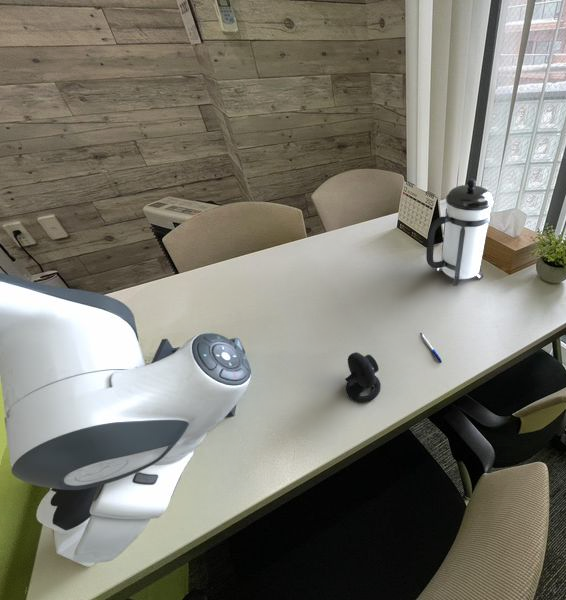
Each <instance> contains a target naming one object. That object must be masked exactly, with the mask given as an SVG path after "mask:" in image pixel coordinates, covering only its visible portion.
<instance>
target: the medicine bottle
mask: <svg viewBox="0 0 566 600" xmlns="http://www.w3.org/2000/svg"><path fill="white" fill-rule="evenodd" d="M97 489H98V486H96V487H92V488H87V489H82V490H64V489H54V488H50V489H49V491H48V492H47V493H46V494H45V495H44V496H43V498H42V499H41V501H40V502H39V505H38V506H37V510H36V514H35V516H36V520H37V522H39V523H40V524H42V525H44V526H45V527H48V528H49V529H51V530H53V536H54V537H53V538H54V544H55V551H56V554H57V555H60V556H61V557H63V558H66V559H68V560H70V561H73V562H75V563H78V564H80V565H81V566H84V567H87V568H90V567H92V566H94V565H95V564H96V563H82V562H76V561H74V560H73V555H74V552H75V550H76V548H77V546H78V544H79V542H80V539H81V537H82V535H83V533H84V530H85V528H86V526H87V523H88V521H89V519H90V517H91V514H90V508H91V505H92V503H93V499H94V496H95V494H96V491H97Z"/></svg>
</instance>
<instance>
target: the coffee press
mask: <svg viewBox="0 0 566 600" xmlns="http://www.w3.org/2000/svg"><path fill="white" fill-rule="evenodd" d="M445 203H446V208H445V212H444V216H440V217H437V218H436V219H434V221H432V223H431V224H430V226H429V228H428V231H427V237H426V238H427V239H426V251H425V253H426V255H425V256H426V257H425V259H426V263H427V265H428V266H429V267H430V268H432V269H436V271H438V272H441V271H442V272H444V274H446V275H447V276H448V277H450V278H452V279H453V283H452V285H453V287H458V286H459V282H460V280H468V279H472V278H474V277H477V278H478V279H479V280H482V279H483V278H484V272H483V270H482V265H483V259H484V253H485V248H486V242H487V238H488V237H487V235H488V230H489V225H490V220H491V215H492V214H491V209H492V206H493V204H494V198H493V196H492V193H491V192H490V191H489V190H488V189H487V188H485V187H483V186H481V185H477V181H476V180H475V179H474V178H470V179H469V180H467V183H466V184H462V185H457V186H455V187H453V188H452V189H451V190H450V191H449V192H448V194H447V195H446V197H445ZM442 225H443V236H442V246H441V257H440V261H434V250H435V249H434V248H435V237H436V231H437V229H438V228H439V227H440V226H442ZM479 273H480V274H479Z"/></svg>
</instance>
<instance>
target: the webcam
mask: <svg viewBox="0 0 566 600" xmlns="http://www.w3.org/2000/svg"><path fill="white" fill-rule="evenodd" d="M347 366H348V370H349V372H350V374H349V375H348V376H347V377H345V381H346V384H345V393H346V395H347V397H348V398H349V399H350V400H351V401H352V402H355V403H359V404H366V403H369V402H371V401H373V400H375V399H376V398H377V397H378V396H379V394H380V392H381V387H382V386H381V385H382V384H381V381H380V379H379V378H378V377H377V376H376V373H378V372H379V365H378V363H377V361H376V359H375V358H374V357H373V356H372V355H371V354H366V355H365V356H364V355H363V354H361V353H360V352H357V351H356V352H352V353H350V354H349V355H348V356H347ZM372 387H373V389H372V391H371V392H370V393H368V394H365V395H361V394H362V393H363V392H364V391H366V390H367V389H370V388H372Z"/></svg>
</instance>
